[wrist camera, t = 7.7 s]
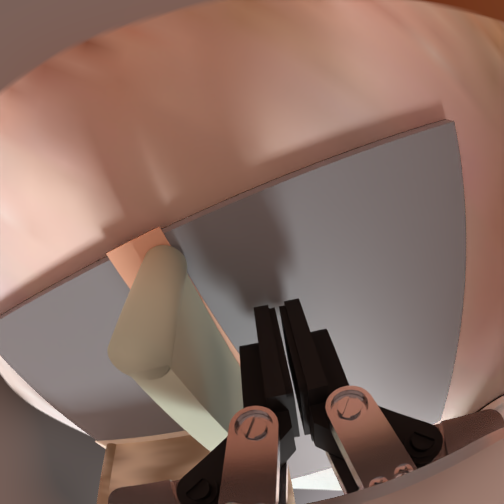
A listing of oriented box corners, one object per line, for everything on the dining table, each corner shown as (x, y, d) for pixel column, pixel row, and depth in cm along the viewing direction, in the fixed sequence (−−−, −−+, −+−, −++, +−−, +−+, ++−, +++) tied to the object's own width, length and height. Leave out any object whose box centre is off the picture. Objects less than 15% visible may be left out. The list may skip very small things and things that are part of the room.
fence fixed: (274, 411, 16) (290, 503, 10) (284, 423, 17) (299, 508, 11) (101, 442, 17) (90, 508, 12) (117, 452, 18) (108, 516, 13)
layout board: (438, 415, 21) (440, 420, 21) (190, 490, 24) (190, 495, 24) (443, 112, 9) (453, 114, 9) (-20, 322, 12) (-25, 329, 12)
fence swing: (272, 411, 15) (283, 480, 11) (245, 417, 15) (252, 486, 11) (175, 238, 10) (148, 328, 6) (136, 253, 10) (94, 343, 6)
